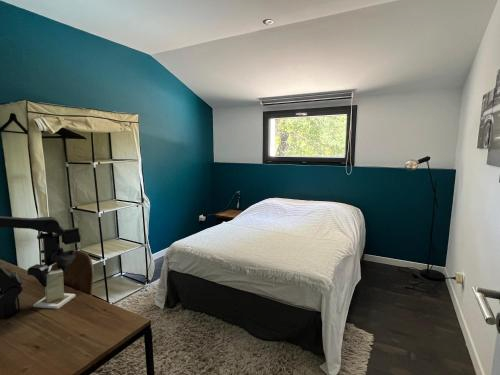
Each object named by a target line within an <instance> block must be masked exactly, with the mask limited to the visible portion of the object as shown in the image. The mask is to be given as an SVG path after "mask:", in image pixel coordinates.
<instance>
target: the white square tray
mask: <svg viewBox="0 0 500 375" xmlns="http://www.w3.org/2000/svg"><path fill="white" fill-rule="evenodd" d="M75 297H76V294H75V293H67V292H64V298H62V299H58V300H55V301H51V302H47V301H46V297H45V296H44V297H43V298H42V299H40V300H38V301H36V302H35V303H33V307H34V308H35V307H36V308H44V309H46V308H47V309H54V310H55V309H56V310H58V309H60V308H61V307H63V306H64V305H65V304H66V303H68V302H70V301H71V300H72V299H74V298H75Z"/></svg>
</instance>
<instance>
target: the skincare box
mask: <svg viewBox="0 0 500 375" xmlns="http://www.w3.org/2000/svg"><path fill="white" fill-rule="evenodd" d="M48 272H49V273H48V275H47V286H46V287H44V294H45V296H44V297H46V301H47V302H51V301H55V300H58V299H62V298H64V293H65V290H64V289H65V288H64V287H65V285H64V277H63V271H62V269H58V268H57V269H53V270H48Z"/></svg>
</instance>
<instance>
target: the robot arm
mask: <svg viewBox="0 0 500 375" xmlns="http://www.w3.org/2000/svg"><path fill="white" fill-rule="evenodd" d="M0 228H6V229H7V228H9V229H24V230H25V229H27V230H34V231H37V232H39V234H37V235H36V238H37V240H42V250H40V253H41V254H43V259H41V260H40V261H41V263H44V264H39V263H37V264H35V265H32V266H30V267H28V268H27V271H26V272H27V276H28V275H29V276H33V277H35V279H36V280H38V282H39V284H40V285H41V286H42V287H43V288H45V287H46V286H47V275H48V273H49V272H48V271H50V267H51V266H53V265H57V269H62V271H63V278H64V277H65V275H66V274H65V273H66V271H67V268H68V265H70V264H72V263H73V261H74V260H75V259H76V258H77V256H76V255H77V253H76V250H74V249H72V250H70V251H64V248H63V247H61V244H64V245H65V246H67V245H73V244H79V243H81V234H80V229H79V227H77V226H76V227H72V228H67V229H64V228H63V226H61V225H60V223H59V221H58V220H57V218H56V217H54V216H41V217H32V218H31V217H20V216H19V217H16V216H6V215H5V216H3V215H0ZM60 241H61V242H60ZM60 243H61V244H60ZM22 291H23V277H22V276H19V274H18V273H17V271H14V272H13V273H11V272H9V271H7V270H6V268H5V267H4V266H3V265H2V264H1V263H0V320H9V319H11V318H13V317H14V316H15V315H17V314H19V313H21V312H22V311H24V309H23V308H21V305H20V304H21V303H20V297H19V296H20V294H21V293H22Z"/></svg>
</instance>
